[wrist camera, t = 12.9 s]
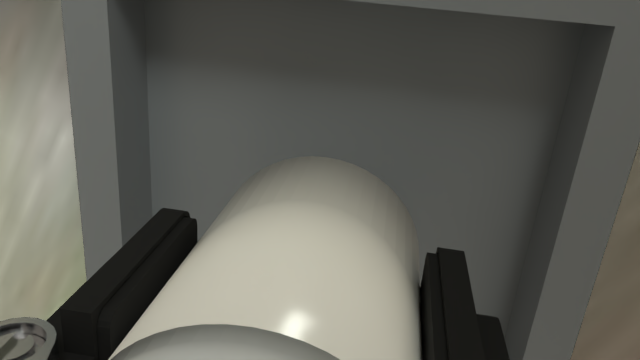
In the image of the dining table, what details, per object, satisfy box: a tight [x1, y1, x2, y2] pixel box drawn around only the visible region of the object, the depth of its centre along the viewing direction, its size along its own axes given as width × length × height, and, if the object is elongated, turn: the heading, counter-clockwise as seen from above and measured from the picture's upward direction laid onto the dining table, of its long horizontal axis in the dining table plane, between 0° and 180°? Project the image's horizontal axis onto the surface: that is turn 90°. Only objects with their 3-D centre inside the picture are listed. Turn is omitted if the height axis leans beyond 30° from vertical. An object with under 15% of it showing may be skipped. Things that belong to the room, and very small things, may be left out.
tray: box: [61, 0, 640, 360], centre depth 16 cm, size 14×14×3 cm
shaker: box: [108, 156, 423, 360], centre depth 10 cm, size 5×5×8 cm
